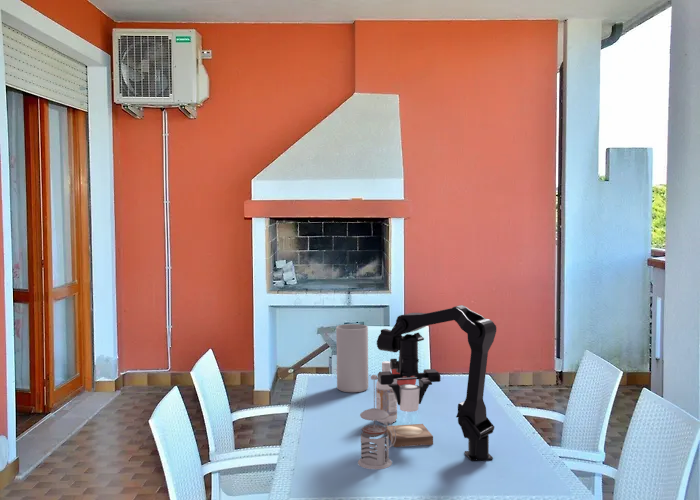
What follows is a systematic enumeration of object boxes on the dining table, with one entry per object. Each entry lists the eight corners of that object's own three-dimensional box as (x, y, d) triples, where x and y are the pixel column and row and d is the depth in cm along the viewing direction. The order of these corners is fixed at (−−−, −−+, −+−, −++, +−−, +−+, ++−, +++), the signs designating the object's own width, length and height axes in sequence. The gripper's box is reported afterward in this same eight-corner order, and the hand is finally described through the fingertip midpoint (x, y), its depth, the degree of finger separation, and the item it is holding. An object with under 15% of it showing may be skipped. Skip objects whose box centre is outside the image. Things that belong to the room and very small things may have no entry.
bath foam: (373, 418, 225) (373, 360, 224) (392, 416, 227) (392, 359, 226) (380, 424, 219) (380, 365, 217) (400, 422, 221) (399, 363, 219)
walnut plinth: (433, 444, 200) (433, 435, 199) (394, 447, 198) (394, 438, 198) (422, 431, 211) (422, 423, 211) (386, 433, 210) (386, 425, 209)
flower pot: (386, 388, 264) (385, 364, 264) (409, 384, 269) (409, 361, 268) (398, 394, 255) (398, 369, 254) (423, 391, 259) (423, 366, 259)
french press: (371, 453, 193) (370, 369, 191) (404, 462, 185) (404, 374, 184) (350, 463, 185) (349, 375, 184) (383, 473, 178) (383, 382, 176)
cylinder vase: (332, 391, 259) (332, 328, 258) (342, 383, 271) (341, 323, 270) (363, 394, 256) (362, 330, 254) (371, 385, 268) (371, 324, 266)
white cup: (419, 412, 200) (418, 390, 200) (396, 411, 201) (396, 389, 201) (421, 406, 207) (421, 384, 206) (399, 405, 208) (399, 383, 208)
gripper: (430, 347, 212) (431, 395, 213) (373, 350, 210) (374, 398, 210) (440, 354, 201) (441, 405, 202) (380, 357, 199) (381, 408, 199)
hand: (409, 404), depth 204 cm, fingers closed on white cup, 6 cm apart
